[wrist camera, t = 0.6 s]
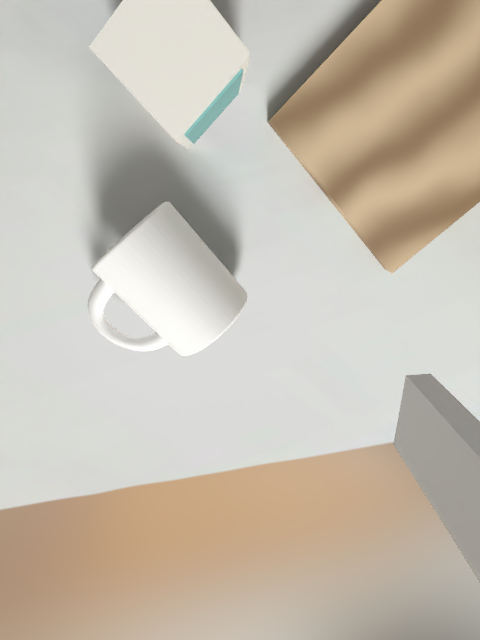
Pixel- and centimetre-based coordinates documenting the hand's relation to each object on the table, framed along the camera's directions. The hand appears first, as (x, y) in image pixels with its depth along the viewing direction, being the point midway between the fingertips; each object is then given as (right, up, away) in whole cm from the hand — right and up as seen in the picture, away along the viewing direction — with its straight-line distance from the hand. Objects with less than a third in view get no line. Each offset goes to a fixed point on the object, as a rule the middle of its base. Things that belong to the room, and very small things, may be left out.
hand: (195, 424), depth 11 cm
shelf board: (+16, +19, +17) cm, 31 cm away
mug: (-6, +7, +22) cm, 24 cm away
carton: (-3, +21, +16) cm, 26 cm away
